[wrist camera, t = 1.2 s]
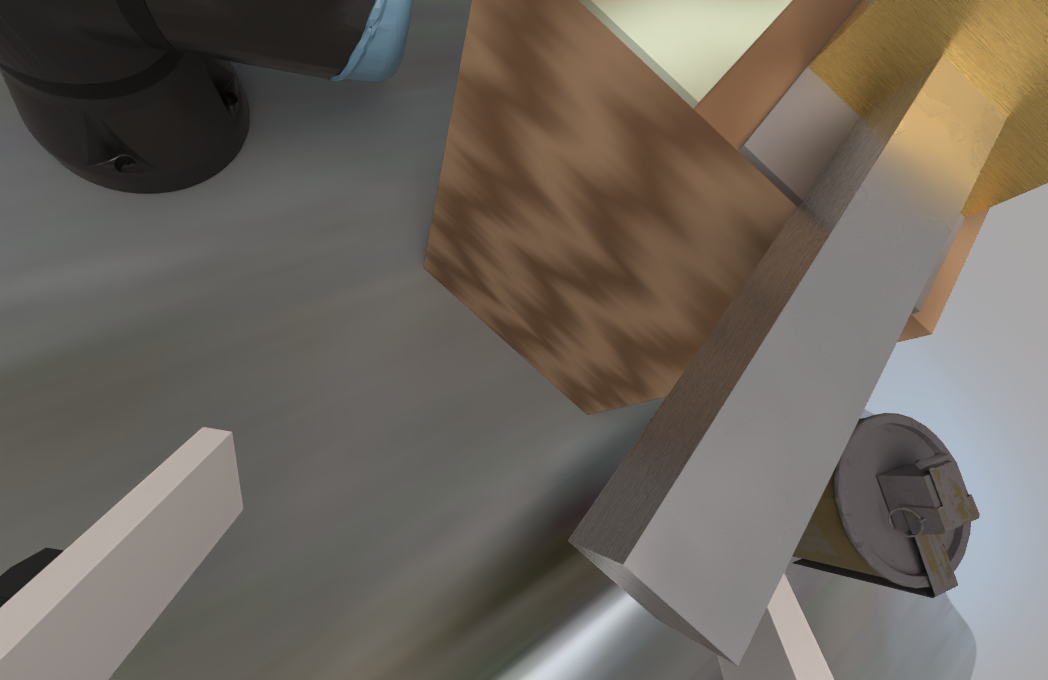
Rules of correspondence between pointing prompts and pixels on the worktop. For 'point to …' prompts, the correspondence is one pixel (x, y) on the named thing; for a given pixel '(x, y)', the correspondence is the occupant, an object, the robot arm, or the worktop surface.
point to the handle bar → (823, 310)
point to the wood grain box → (635, 177)
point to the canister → (892, 510)
